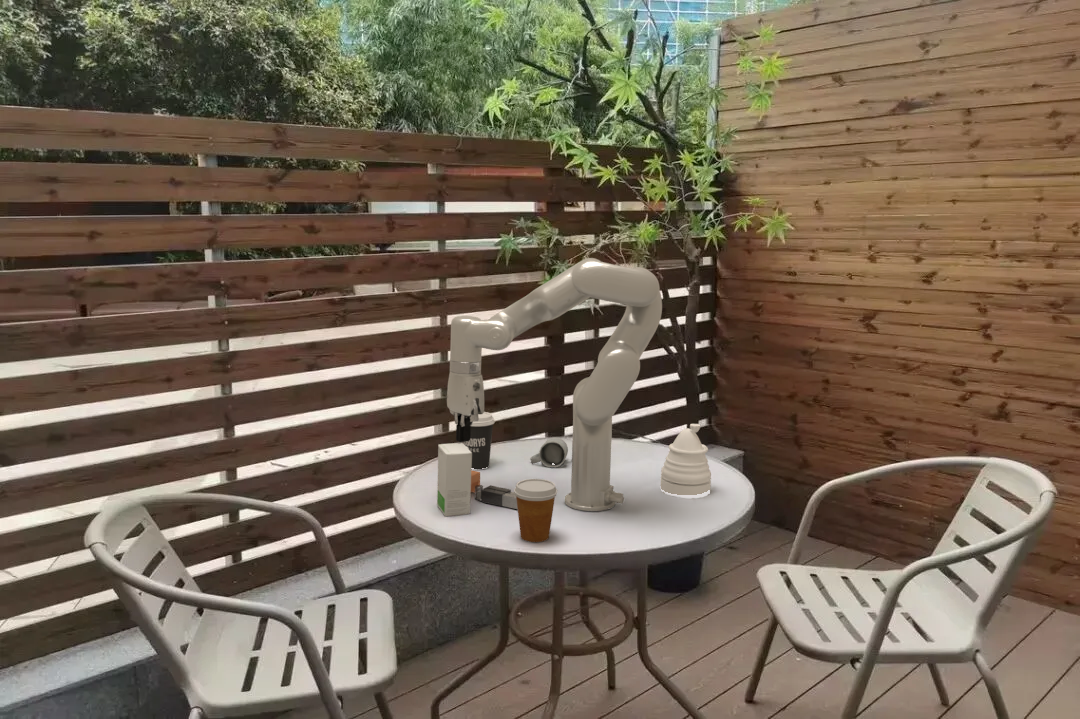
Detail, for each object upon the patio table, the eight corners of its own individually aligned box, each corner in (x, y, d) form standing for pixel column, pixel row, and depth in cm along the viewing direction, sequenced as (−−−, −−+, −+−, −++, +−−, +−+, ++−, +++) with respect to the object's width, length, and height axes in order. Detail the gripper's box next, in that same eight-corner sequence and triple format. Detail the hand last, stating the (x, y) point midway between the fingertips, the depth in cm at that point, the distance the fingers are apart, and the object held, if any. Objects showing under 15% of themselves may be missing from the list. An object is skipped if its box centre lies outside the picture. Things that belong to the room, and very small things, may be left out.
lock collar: (454, 498, 203) (454, 477, 202) (470, 490, 209) (470, 470, 208) (464, 500, 201) (464, 479, 200) (480, 492, 208) (480, 472, 207)
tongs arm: (476, 500, 201) (476, 489, 201) (480, 498, 203) (480, 487, 202) (537, 514, 193) (537, 502, 193) (541, 511, 195) (541, 499, 194)
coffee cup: (457, 462, 233) (457, 411, 230) (489, 460, 236) (489, 409, 233) (464, 472, 224) (464, 419, 221) (498, 470, 227) (498, 417, 224)
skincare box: (436, 505, 198) (436, 443, 195) (463, 502, 201) (463, 441, 198) (445, 517, 190) (445, 453, 188) (472, 514, 193) (472, 451, 190)
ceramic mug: (568, 460, 237) (568, 434, 236) (565, 468, 229) (565, 442, 228) (532, 458, 238) (532, 433, 237) (528, 467, 230) (528, 441, 229)
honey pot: (719, 490, 213) (723, 423, 210) (693, 502, 204) (697, 432, 201) (677, 479, 222) (680, 415, 219) (650, 490, 212) (653, 423, 209)
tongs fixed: (473, 499, 203) (473, 486, 203) (480, 495, 206) (480, 483, 205) (539, 513, 194) (540, 500, 193) (546, 509, 197) (546, 496, 196)
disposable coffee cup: (506, 541, 177) (507, 488, 175) (522, 526, 186) (523, 475, 184) (547, 548, 174) (549, 494, 172) (562, 532, 183) (563, 481, 181)
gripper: (496, 371, 194) (493, 445, 197) (460, 361, 205) (458, 431, 208) (470, 374, 189) (468, 450, 192) (435, 363, 200) (433, 435, 203)
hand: (463, 440), depth 200 cm, fingers closed
